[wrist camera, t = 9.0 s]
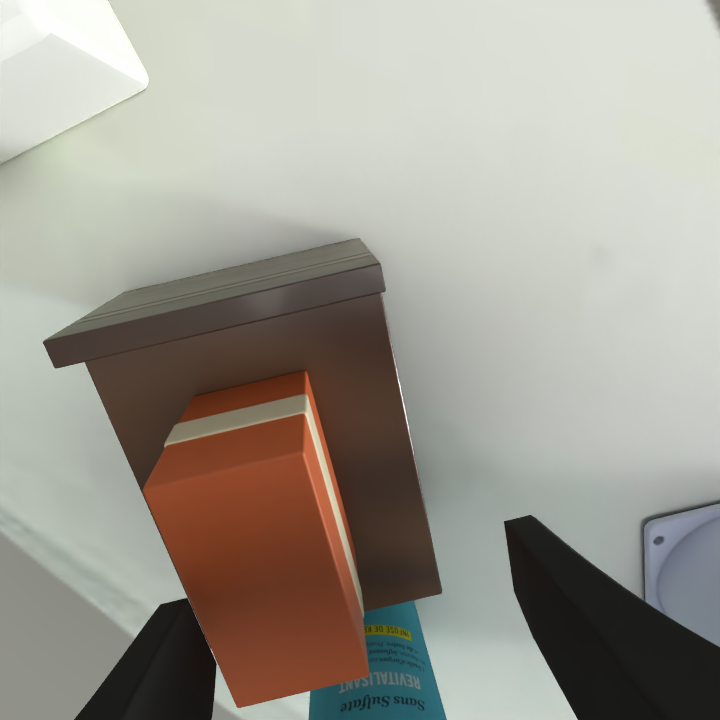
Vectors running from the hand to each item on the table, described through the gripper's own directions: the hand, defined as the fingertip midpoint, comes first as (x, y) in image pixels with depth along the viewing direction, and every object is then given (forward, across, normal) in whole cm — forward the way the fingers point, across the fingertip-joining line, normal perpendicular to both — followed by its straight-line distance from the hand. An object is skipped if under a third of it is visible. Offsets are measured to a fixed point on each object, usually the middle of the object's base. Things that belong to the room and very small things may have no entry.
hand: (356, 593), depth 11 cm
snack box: (+6, +2, 0) cm, 6 cm away
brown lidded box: (+10, +2, 0) cm, 11 cm away
